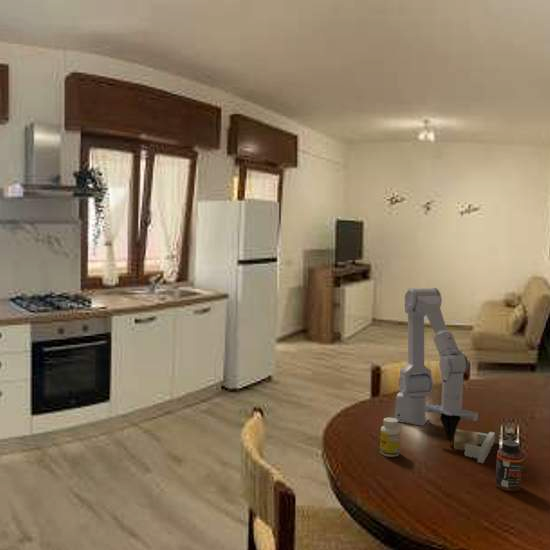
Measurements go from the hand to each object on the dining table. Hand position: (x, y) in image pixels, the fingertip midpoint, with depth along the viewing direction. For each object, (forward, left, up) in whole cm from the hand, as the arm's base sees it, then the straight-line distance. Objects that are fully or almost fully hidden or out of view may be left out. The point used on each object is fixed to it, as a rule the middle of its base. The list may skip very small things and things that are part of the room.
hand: (449, 439), depth 175 cm
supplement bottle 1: (-13, -16, -2) cm, 21 cm away
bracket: (+8, 0, -1) cm, 8 cm away
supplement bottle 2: (+19, -21, -2) cm, 28 cm away
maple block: (+4, +1, -1) cm, 5 cm away
